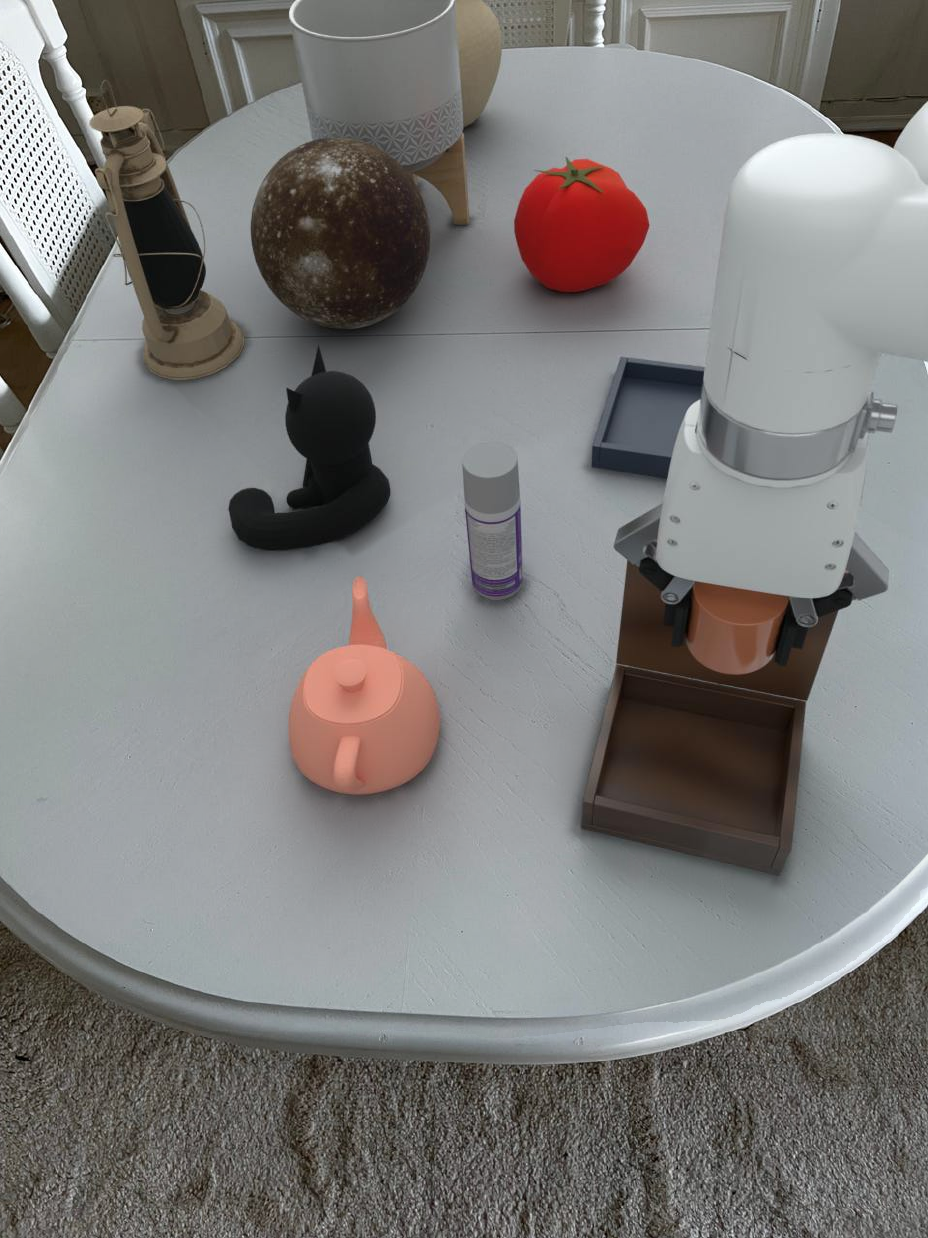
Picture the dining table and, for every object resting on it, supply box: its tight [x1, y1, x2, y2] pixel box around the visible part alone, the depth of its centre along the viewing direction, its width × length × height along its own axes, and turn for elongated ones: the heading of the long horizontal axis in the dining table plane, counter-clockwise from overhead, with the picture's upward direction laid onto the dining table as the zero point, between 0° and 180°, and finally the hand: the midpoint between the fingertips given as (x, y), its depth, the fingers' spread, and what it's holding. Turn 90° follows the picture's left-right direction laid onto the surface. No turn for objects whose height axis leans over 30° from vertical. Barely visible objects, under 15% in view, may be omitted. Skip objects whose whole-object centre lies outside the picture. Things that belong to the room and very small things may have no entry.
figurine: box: [227, 344, 391, 552], centre depth 91 cm, size 16×14×15 cm
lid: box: [615, 540, 848, 702], centre depth 70 cm, size 13×15×1 cm
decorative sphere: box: [250, 137, 431, 330], centre depth 109 cm, size 20×20×20 cm
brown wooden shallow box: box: [580, 664, 807, 876], centre depth 74 cm, size 13×15×4 cm
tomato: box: [513, 156, 651, 293], centre depth 113 cm, size 16×14×14 cm
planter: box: [288, 0, 470, 226], centre depth 119 cm, size 19×19×26 cm
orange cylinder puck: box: [685, 581, 790, 675], centre depth 59 cm, size 6×6×5 cm
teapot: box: [287, 576, 441, 795], centre depth 76 cm, size 12×18×10 cm
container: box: [461, 439, 524, 601], centre depth 83 cm, size 5×5×15 cm
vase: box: [455, 0, 503, 129], centre depth 135 cm, size 17×17×30 cm
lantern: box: [88, 79, 245, 381], centre depth 103 cm, size 14×12×30 cm
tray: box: [590, 356, 705, 479], centre depth 98 cm, size 20×15×3 cm
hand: (730, 636), depth 61 cm, fingers closed on orange cylinder puck, 5 cm apart
